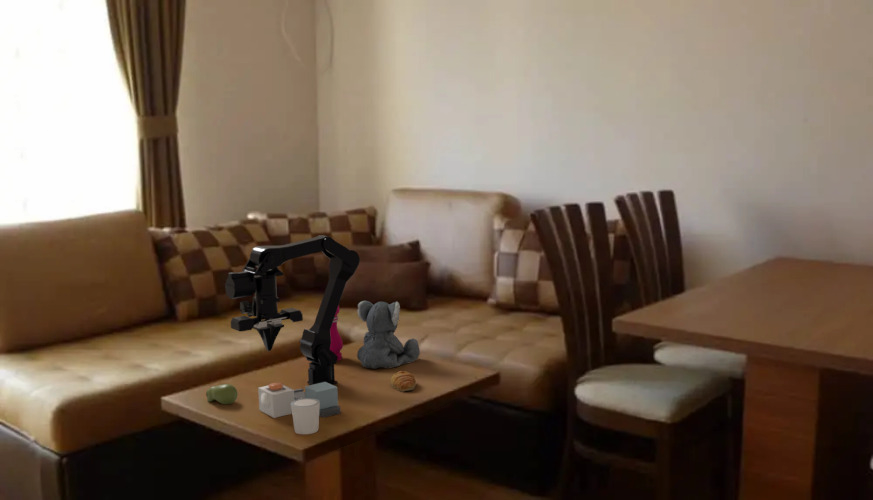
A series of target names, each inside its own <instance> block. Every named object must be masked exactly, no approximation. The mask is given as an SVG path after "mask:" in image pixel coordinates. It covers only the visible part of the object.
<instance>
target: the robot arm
mask: <svg viewBox="0 0 873 500" xmlns="http://www.w3.org/2000/svg"><path fill="white" fill-rule="evenodd" d="M320 252H322V254H324V256H325V257H327V258H328V259H329V265H328V268H329V269H328V270H329V279H328V282H327V284H326V287H325V290H324V294H323V296H322V299H321V303H320V305H319V307H318V312H317V314H316V317H315V320H314V322H313V324H312V326H311V327H310V328H309V329H307V328H304V329H303V332H302V337H301V338H300V340H299V341H298V343H300V346H299V349H300V352H301V354H303V356H305V359H306V361H308V362H309V363H308V364H309V368H308V370H307V372H308V373H307V375H308V378H307V379H308V380H307V381H306V383H307V384H309V385H313V384H318V383H322V382H327V383H329V384H331V385H337V384H338V383H339V382H338V381H337V380H335V365H336V364H337V362H338V361H337V359H338V356H337V355H336V354H335V353H333V352H332V351H331V350H330V345H331V335H330V329H331V326H332V323H333V320H334V317H335V314H336V311H337V308H338V306H339V307H340V303H341V299H342V297H343V294H344V291H345V289H346V285H347V283H348V281H349V280H350V279H351V278H352V277H353V276H354V274H355V273H356V271H357V269H358V267H359V266H360V263H361V258H360V256H359V254H358V252H357V251H356V250H354V249H349V248H347V247H346V246H344V245H342V244H341V243H339V242H338V241H336V240H335V239H333V238H332V237H331V236H328V235H323V234H322V235H321V234H319V235H318V236H315V237H311V238H307V239H303V240H298V241H294V242H291V243H286V244H282V245H257V246H255V247H253V248H252V250H251V252H250V254H249V258H248V260H247V261H246V264H245V265H244V267H243V268H242V271H239V272H228V273H227V274H228V275H227V276H228V277H227V278H226V281H225V284H224V289H225V294H226V296H227V298H228V299H230V300H234V299H235V300H236V299H240V298H248V297H252V296H253V295H254V296H253V297H252V302H251V303H250V302H249V300H244V301H240V303H239V310H240V314H242V315H240V316H236V317H232V319H231V320H230V328H231V329H232V330H234V331H237V332H246V331H251V330H252V329H253V330H255V331H257V333H258V334H259V336H260V338H261V340H262V343H263V345H264V347H265V348H264V349H265V350H266V351H267V352H271V351H272V349H273V347H274V344H275V342H276V340H277V337H278V335H279V333H280V331H281V329H282V328H284V327H285V324H283V323H282V321H286V320H289V321H291V322H293V323H297V322H298V323H299V322H303V320H304V316H303V312H302V311H301V310H299V309H297V308H294V307H290V308H284V309H283V308H282V309H281V310H280V312H278V311H279V310H278V303H279V302H280V297H278V293H277V289H278V288H277V277H279V276H280V277H282V276H284V272H283V271H281V270H280V269H279V267H280V266H282V265H283V264H284V263H286V262H288V261H289V260H294V259H298V258H301V257H305V256H309V255H313V254H316V253H320ZM243 314H247V315H243Z"/></svg>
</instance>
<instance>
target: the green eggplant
mask: <svg viewBox="0 0 873 500" xmlns="http://www.w3.org/2000/svg"><path fill="white" fill-rule="evenodd" d="M205 396H206V398H207V402H209V403H211V402H214V401H217V403H220V404H222V405H231V404H234V403H235V402H236V401H237V399H238V396H239V395H238V390H237V388H236V386H234V385H233V384H230V383H224V384H219V385H214V386H210V388H209V389H207V390H206V392H205Z"/></svg>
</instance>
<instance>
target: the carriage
mask: <svg viewBox="0 0 873 500" xmlns="http://www.w3.org/2000/svg"><path fill="white" fill-rule="evenodd" d="M304 392H305V398H312V399H317V400H319V402H320V408H319V417H321V414H320V410H321V409H325V408H329V407H333V406H339V396H338V387H337V386H336V385H335V384H333V385H331V384H329V383H327V382H322V383H318V384H313V385H311V384H309V385H305V386H304Z"/></svg>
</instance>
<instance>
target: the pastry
mask: <svg viewBox="0 0 873 500" xmlns="http://www.w3.org/2000/svg"><path fill="white" fill-rule="evenodd" d="M416 384H417V381H416V378H415V375H413V374H412V373H411V372H409V371H405V370H400V371H397V372H395V373H394V374H393V375H392V376H391V379H390V385H391V386H392V388H393V389H395V390H396V391H399V392H407V391H413V390H414V389H415V388H416Z"/></svg>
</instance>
